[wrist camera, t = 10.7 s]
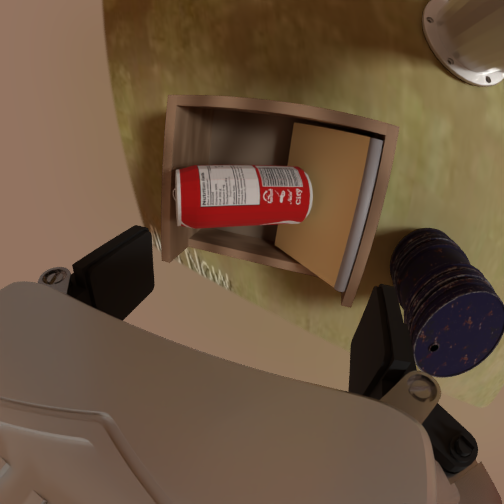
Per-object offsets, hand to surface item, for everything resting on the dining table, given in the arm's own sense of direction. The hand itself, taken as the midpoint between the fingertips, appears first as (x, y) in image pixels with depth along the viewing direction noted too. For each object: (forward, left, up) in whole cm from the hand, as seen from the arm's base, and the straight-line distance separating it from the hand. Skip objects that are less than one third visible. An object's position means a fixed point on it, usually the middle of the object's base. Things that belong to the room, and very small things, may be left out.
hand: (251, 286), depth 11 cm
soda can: (0, 0, -18) cm, 18 cm away
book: (-3, +1, -18) cm, 18 cm away
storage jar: (-17, +7, -24) cm, 30 cm away
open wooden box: (+3, +1, -24) cm, 24 cm away
